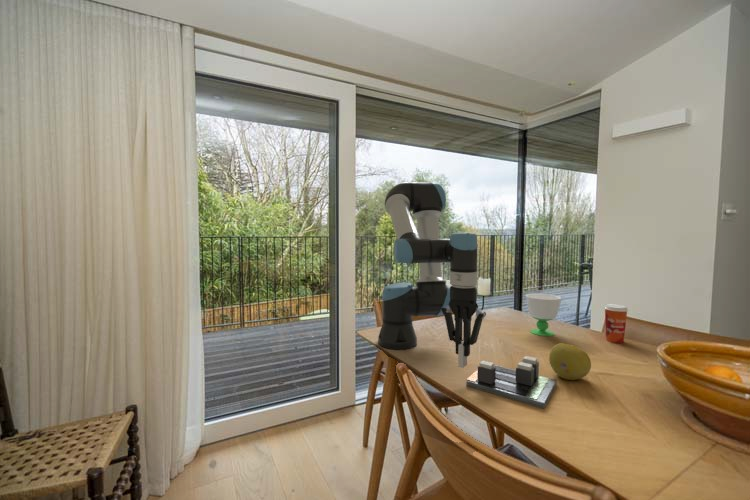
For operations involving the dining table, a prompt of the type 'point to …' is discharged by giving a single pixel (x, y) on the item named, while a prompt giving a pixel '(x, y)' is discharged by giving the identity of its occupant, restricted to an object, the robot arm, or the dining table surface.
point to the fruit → (569, 361)
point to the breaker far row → (534, 364)
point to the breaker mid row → (525, 373)
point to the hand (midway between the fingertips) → (462, 365)
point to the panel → (516, 387)
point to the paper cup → (615, 322)
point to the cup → (543, 311)
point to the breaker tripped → (486, 372)
